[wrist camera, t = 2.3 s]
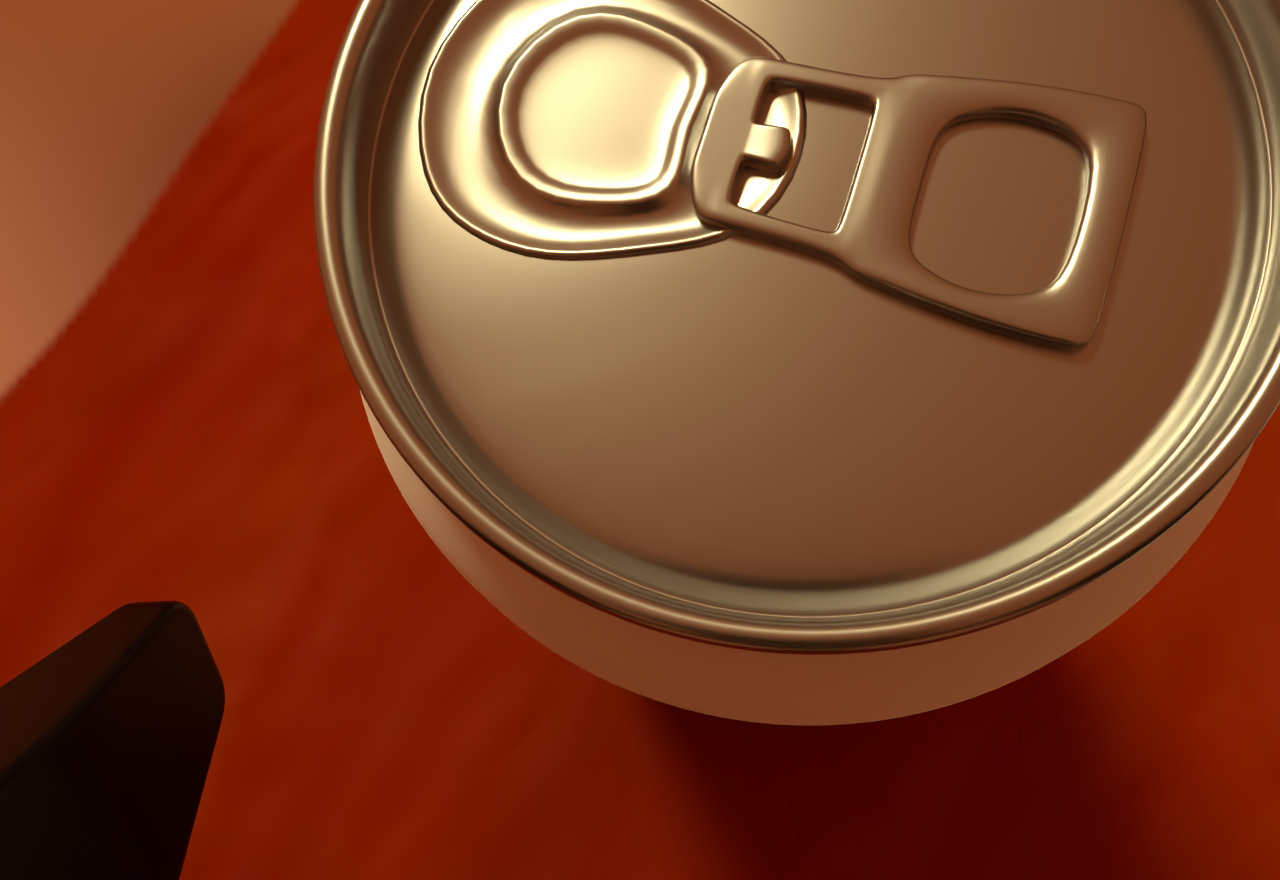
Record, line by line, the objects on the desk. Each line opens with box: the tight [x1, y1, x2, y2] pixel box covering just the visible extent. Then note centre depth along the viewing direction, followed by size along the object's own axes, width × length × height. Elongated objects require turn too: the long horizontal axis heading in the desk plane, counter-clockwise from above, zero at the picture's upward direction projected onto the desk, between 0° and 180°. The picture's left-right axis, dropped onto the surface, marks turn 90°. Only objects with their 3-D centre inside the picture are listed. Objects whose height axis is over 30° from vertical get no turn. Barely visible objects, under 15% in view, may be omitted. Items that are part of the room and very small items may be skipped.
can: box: [313, 0, 1280, 725], centre depth 12 cm, size 6×6×12 cm
